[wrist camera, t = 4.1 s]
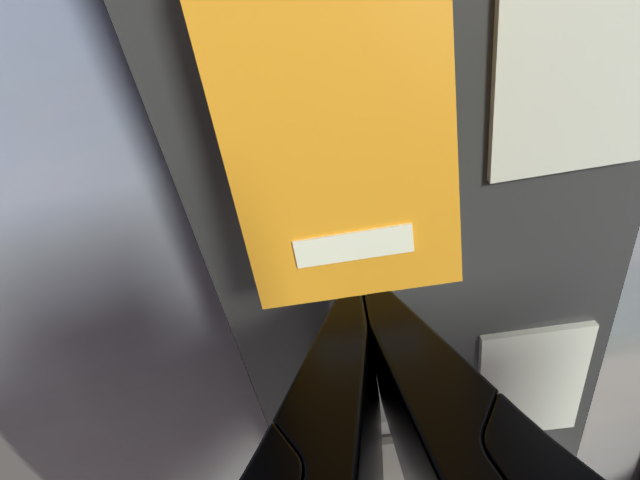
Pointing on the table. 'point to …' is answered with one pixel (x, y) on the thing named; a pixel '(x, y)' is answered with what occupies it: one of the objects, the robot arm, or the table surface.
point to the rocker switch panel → (475, 197)
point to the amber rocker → (336, 140)
